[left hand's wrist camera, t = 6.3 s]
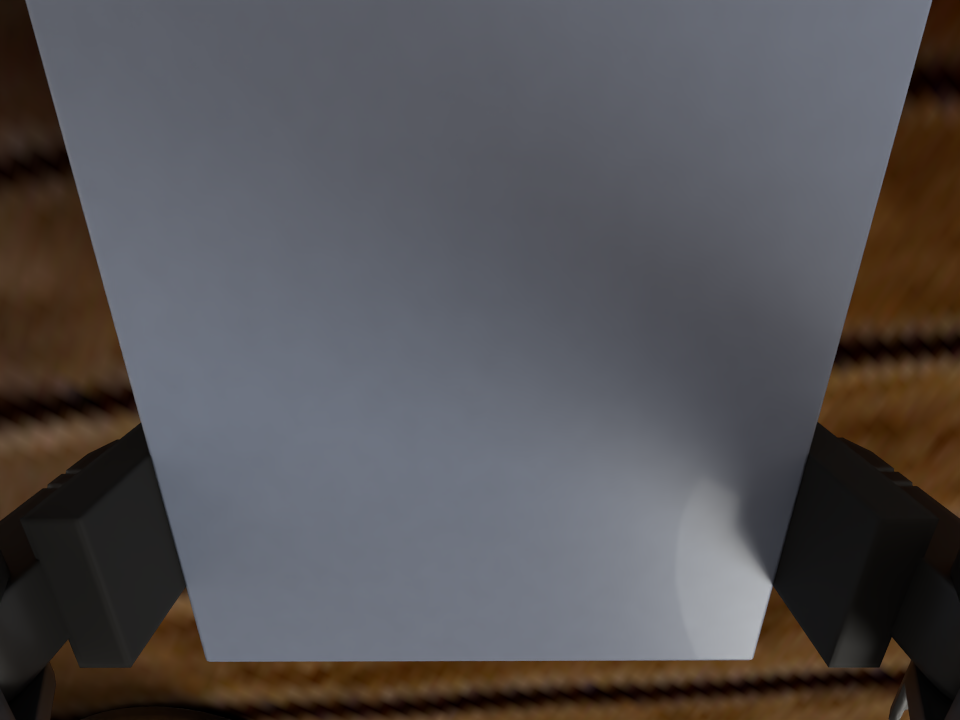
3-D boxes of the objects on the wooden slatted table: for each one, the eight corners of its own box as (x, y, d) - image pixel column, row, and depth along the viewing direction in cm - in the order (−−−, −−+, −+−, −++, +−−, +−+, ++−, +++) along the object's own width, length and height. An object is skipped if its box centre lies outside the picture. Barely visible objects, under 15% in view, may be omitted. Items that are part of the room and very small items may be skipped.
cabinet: (262, -297, 12) (-501, -1890, 3) (694, -296, 12) (1446, -1867, 3) (341, 410, 19) (205, 663, 10) (617, 410, 19) (754, 661, 10)
